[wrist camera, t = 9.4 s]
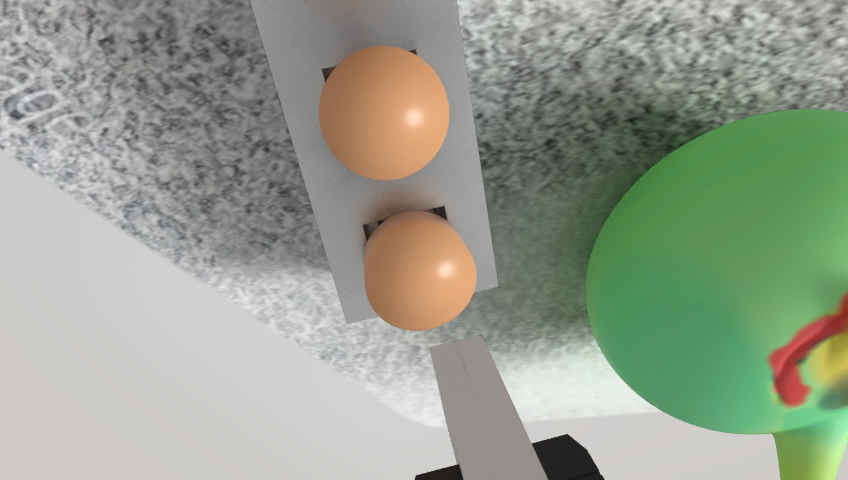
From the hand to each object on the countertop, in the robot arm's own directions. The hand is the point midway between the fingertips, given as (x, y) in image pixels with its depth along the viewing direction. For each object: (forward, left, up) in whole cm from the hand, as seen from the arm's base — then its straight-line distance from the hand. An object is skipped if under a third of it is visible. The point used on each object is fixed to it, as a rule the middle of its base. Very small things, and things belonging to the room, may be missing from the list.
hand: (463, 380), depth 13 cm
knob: (0, 0, -14) cm, 14 cm away
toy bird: (+6, +18, -16) cm, 25 cm away
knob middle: (-7, 0, -15) cm, 17 cm away
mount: (-7, 0, -16) cm, 18 cm away
